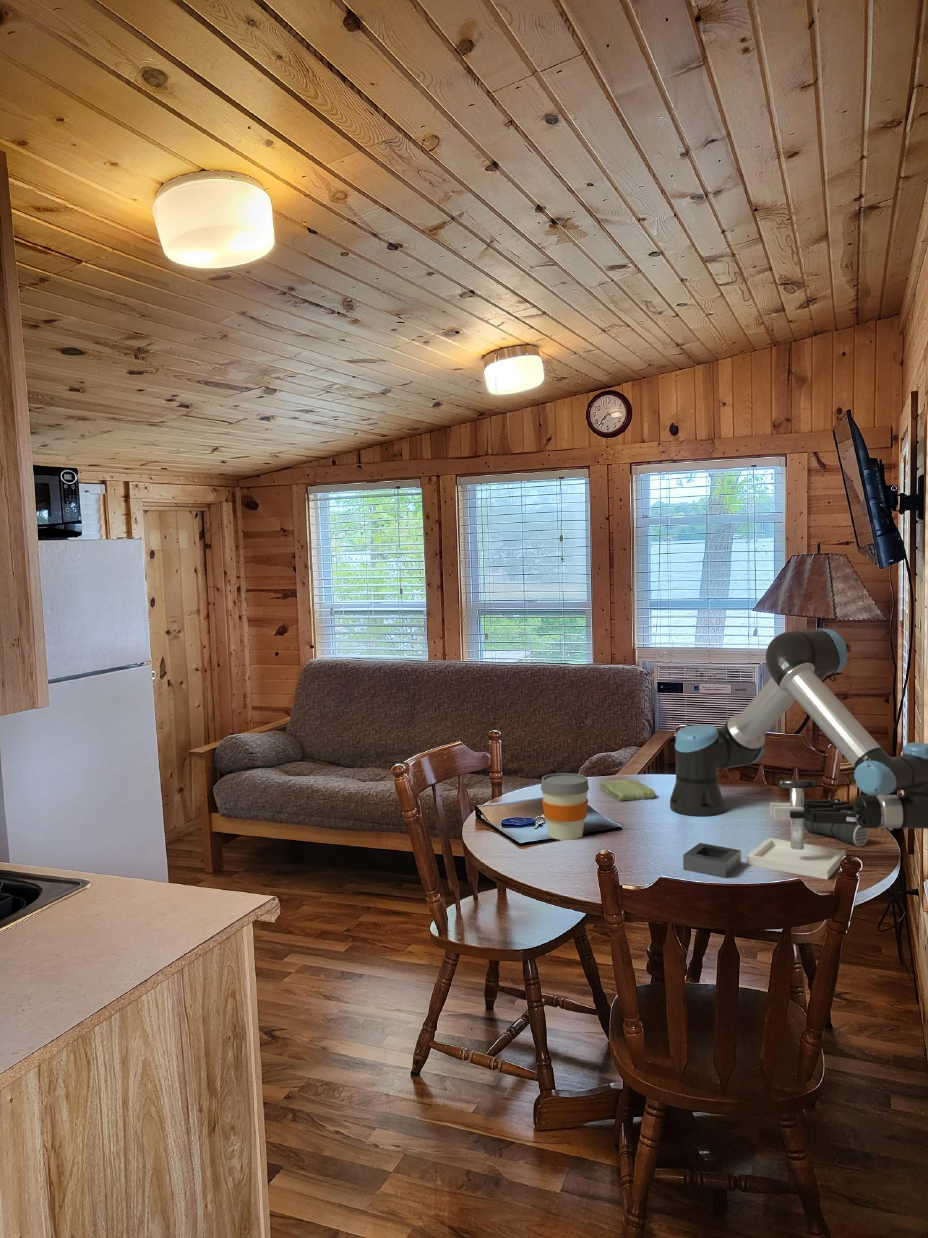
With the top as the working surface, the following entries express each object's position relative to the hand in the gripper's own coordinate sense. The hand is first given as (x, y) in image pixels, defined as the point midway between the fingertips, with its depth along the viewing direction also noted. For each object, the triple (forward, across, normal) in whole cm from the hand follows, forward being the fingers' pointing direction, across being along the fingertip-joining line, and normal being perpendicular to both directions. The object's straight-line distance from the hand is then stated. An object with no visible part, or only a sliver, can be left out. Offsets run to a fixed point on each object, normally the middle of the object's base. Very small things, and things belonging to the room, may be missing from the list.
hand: (772, 811), depth 205 cm
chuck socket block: (+15, -4, -12) cm, 19 cm away
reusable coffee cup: (+49, +19, -12) cm, 53 cm away
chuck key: (-5, 0, -9) cm, 10 cm away
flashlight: (-19, +18, -12) cm, 29 cm away
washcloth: (+30, +60, -12) cm, 68 cm away
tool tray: (-5, 0, -12) cm, 13 cm away
